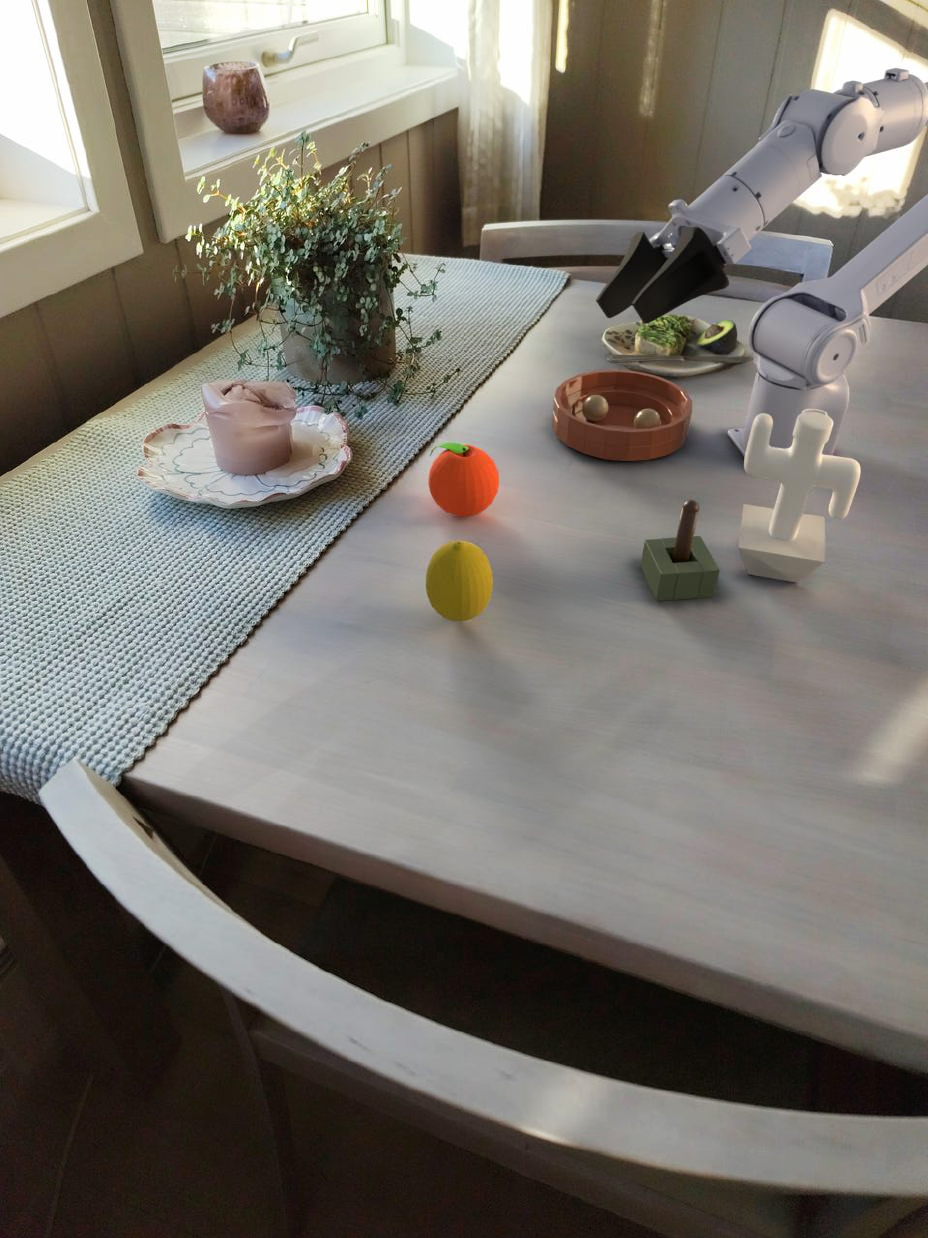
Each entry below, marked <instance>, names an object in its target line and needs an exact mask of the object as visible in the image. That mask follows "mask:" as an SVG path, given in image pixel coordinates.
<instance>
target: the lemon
mask: <svg viewBox="0 0 928 1238" xmlns="http://www.w3.org/2000/svg"><path fill="white" fill-rule="evenodd" d="M493 587H494V578H493V571H492V567H491V563H490V561H489V559H488V557H487V555H486V554H485V553H484V551H483V550H482V549H481V548H480V547H479V546H478V545H476V544H474V543H473V542H469V541H465V540H452V541H449V542H447V543H444V544H443V545H441V546H440V547H439V548H437V549H436V551H434V552H433V554H432V556H431V558H430V560H429V562H428V565H427V568H426V573H425V591H426V596H427V598H428V601H429V603H430V605H431V607H432V608H433V610H435V612H436V613H437V614H438V615H439V616H441V617H442V618H444V619H446V620H449V621H451V622H452V621H453V622H467V621H470V620H473V619H474V618H476V617H478V616H479V615H480V614H481V613H482V612H483V611H484V610H485V609H486V608H487V606H488V604H489V602H490V601H491V598H492V594H493Z"/></svg>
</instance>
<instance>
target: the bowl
mask: <svg viewBox="0 0 928 1238" xmlns="http://www.w3.org/2000/svg"><path fill="white" fill-rule="evenodd" d="M592 395H600V396H602V397H603V398H605V400H606V401H607V403H608V413H607V415H606V416H605V417H604V418H603V419H602V420H600V421H597V422H592V421H589V420H588V419H586V418H585V417H584V415H583V412H582V405H583V403H584V401H585V400H586V398H588V397H589V396H592ZM643 409H653V410H655V411H656V412H657V413H658V414H659V416H660V418H661V425H660V426H659V427H654V428H649V429H635V428H634V418H635V416H636V414H637V413H638V412H639V411H641V410H643ZM692 414H693V400H692V398H691V397H690V395H689V394H688V392H687V391H686V390H685V389H683V388H682V387H681V386H679V385H678V384H676V383H675V382H673V381H671V380H668V379H665V378H664V377H660V376H659V375H655V374H650V373H646V372H640V371H635V370H627V369H626V370H625V369H624V370H623V369H602V370H601V369H600V370H594V371H587V372H583V373H579V374H576V375H574V376H572V377H569V378H568V379H565V380H564V381H563V382H562V383H560V384H559V386H557V387H556V389H555V393H554V397H553V407H552V421H551V427H552V429H553V432H554V434H555V436H556V437H557V438H558V439H559V440H560V441H561V442H562V443H564V445H566V446H568V447H569V448H571V449H573V450H576V451H578V452H579V453H582V454H585V455H588V456H592V457H596V458H599V459H603V460H609V461H610V460H611V461H622V462H636V461H649V460H653V459H657V458H661V457H665V456H668V455H670V454H672V453H673V452H675V451H677V450H679V449H680V448H681V447H682V446H683V444H684V443H685V442H686V441H687V439H688V435H689V429H690V424H691V419H692Z"/></svg>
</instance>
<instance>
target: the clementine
mask: <svg viewBox="0 0 928 1238" xmlns="http://www.w3.org/2000/svg"><path fill="white" fill-rule="evenodd" d="M437 448H444V450H443V451H442V452H440V453H439V455H437V456H436V458H435V459H434V461H433V462H432V464H431V466H430V469H429V474H428V481H427V483H428V488H429V492H430V496H431V497H432V499H433V501H434V502H435V504H436V505H437V506H438V507H439V508H440V509H442V511H444V512H445V513H447V514H450V515H453V516H456V517H460V518H465V517H472V516H475V515H478V514H481V513H482V512H484V511H485V510H486V509H488V508H489V507H490V506H491V505H492V503H493V502H494V500H495V498H496V496H497V494H498V492H499V487H500V475H499V470H498V468H497V465H496V463H495V461H494V459H493V458H492V457H491V456H490V455H489V454H488V453H487V452H486V451H485V450H483V449H481V448H479V447H477V446H474V445H470V444H462V443H458V442H444V443H441V444H438V445H436V446H435V447H433V448H432V449H431V451H430V454H429V457H431V456H432V454H433V452H434V451H435V449H437Z"/></svg>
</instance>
